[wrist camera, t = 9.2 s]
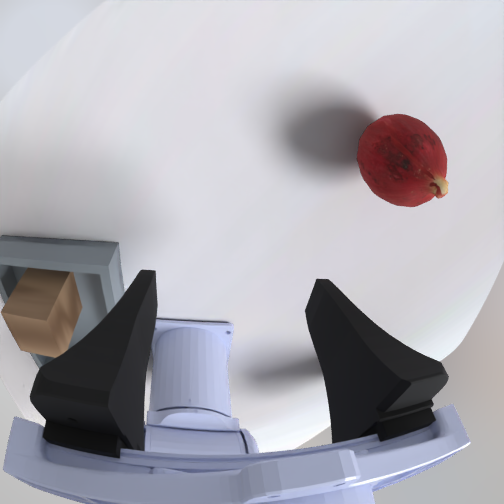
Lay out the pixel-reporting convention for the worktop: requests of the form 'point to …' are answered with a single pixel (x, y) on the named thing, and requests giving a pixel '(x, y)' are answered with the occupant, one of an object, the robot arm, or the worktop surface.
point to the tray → (72, 260)
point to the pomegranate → (403, 161)
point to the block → (43, 311)
